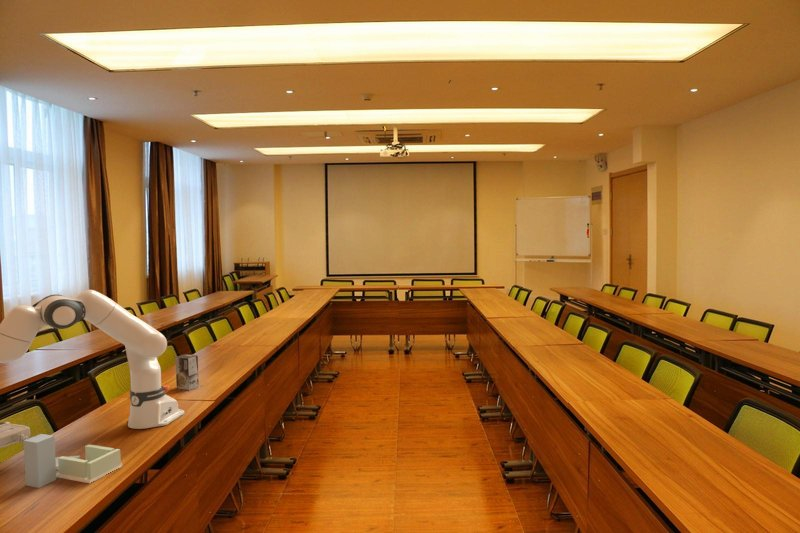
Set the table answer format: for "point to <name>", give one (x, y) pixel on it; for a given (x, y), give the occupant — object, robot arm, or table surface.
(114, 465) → the cradle
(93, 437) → the table surface
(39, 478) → the block
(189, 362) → the coffee box
